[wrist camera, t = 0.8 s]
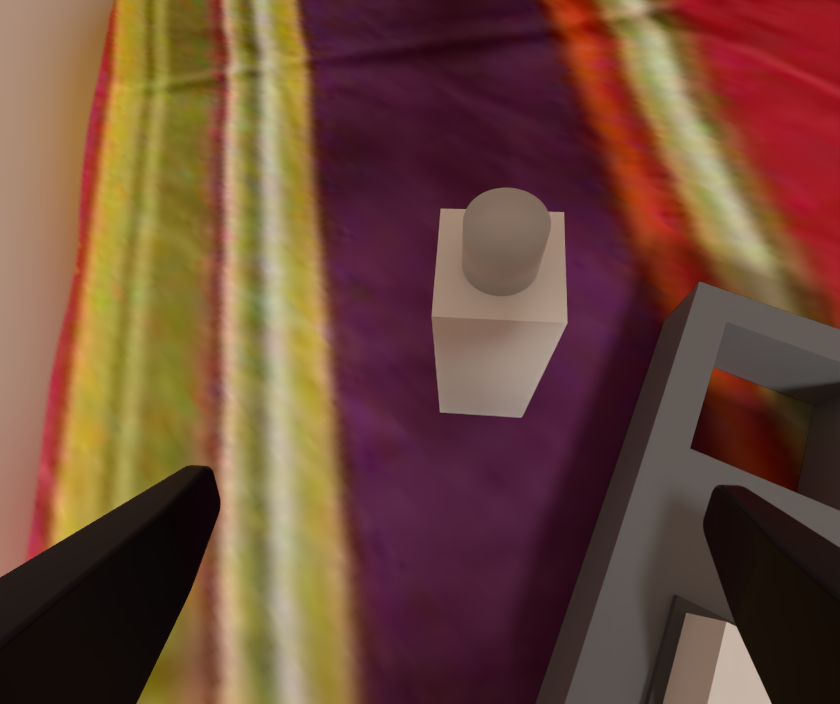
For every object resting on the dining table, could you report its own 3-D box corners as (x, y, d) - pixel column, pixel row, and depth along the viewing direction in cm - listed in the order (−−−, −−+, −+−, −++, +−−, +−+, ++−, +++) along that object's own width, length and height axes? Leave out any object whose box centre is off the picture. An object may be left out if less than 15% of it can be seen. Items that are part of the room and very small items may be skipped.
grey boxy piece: (759, 923, 17) (948, 1146, 10) (511, 773, 19) (542, 883, 12) (853, 390, 24) (1002, 327, 17) (664, 321, 26) (734, 241, 19)
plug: (521, 417, 24) (584, 288, 13) (439, 412, 25) (428, 282, 13) (522, 342, 26) (578, 167, 14) (445, 338, 26) (439, 164, 15)
